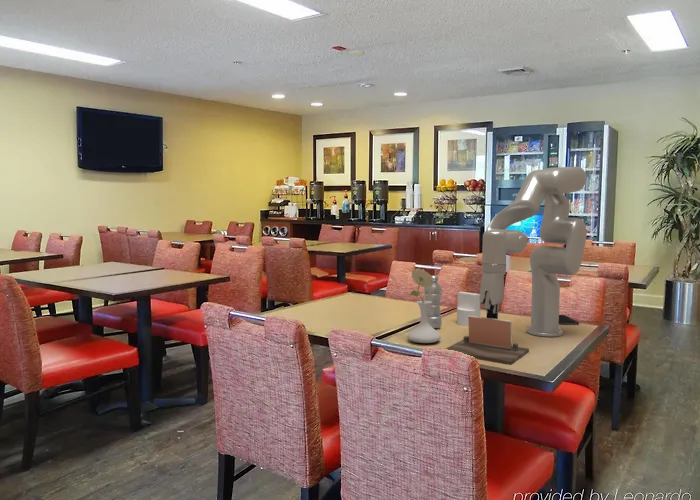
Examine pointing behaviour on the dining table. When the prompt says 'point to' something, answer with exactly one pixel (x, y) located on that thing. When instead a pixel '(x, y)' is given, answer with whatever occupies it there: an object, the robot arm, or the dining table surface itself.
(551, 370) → the dining table surface
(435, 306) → the plastic bottle
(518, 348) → the board
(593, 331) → the dining table surface
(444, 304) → the dining table surface
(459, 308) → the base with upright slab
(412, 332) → the flower in vase
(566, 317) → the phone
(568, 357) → the dining table surface
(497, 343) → the tile
